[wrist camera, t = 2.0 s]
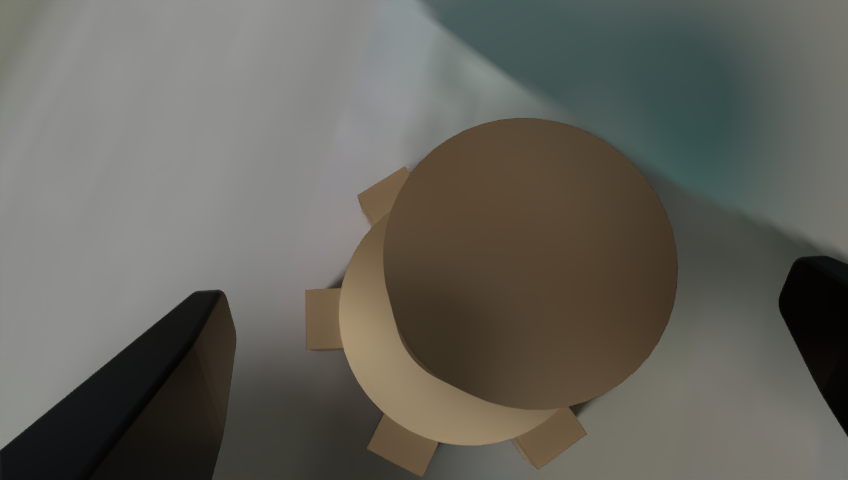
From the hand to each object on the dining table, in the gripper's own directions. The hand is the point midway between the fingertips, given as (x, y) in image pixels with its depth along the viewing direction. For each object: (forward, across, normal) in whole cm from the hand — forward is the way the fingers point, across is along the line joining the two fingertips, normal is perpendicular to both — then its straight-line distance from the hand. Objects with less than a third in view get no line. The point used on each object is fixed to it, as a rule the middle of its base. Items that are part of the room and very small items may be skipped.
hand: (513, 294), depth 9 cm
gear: (+6, 0, +6) cm, 9 cm away
